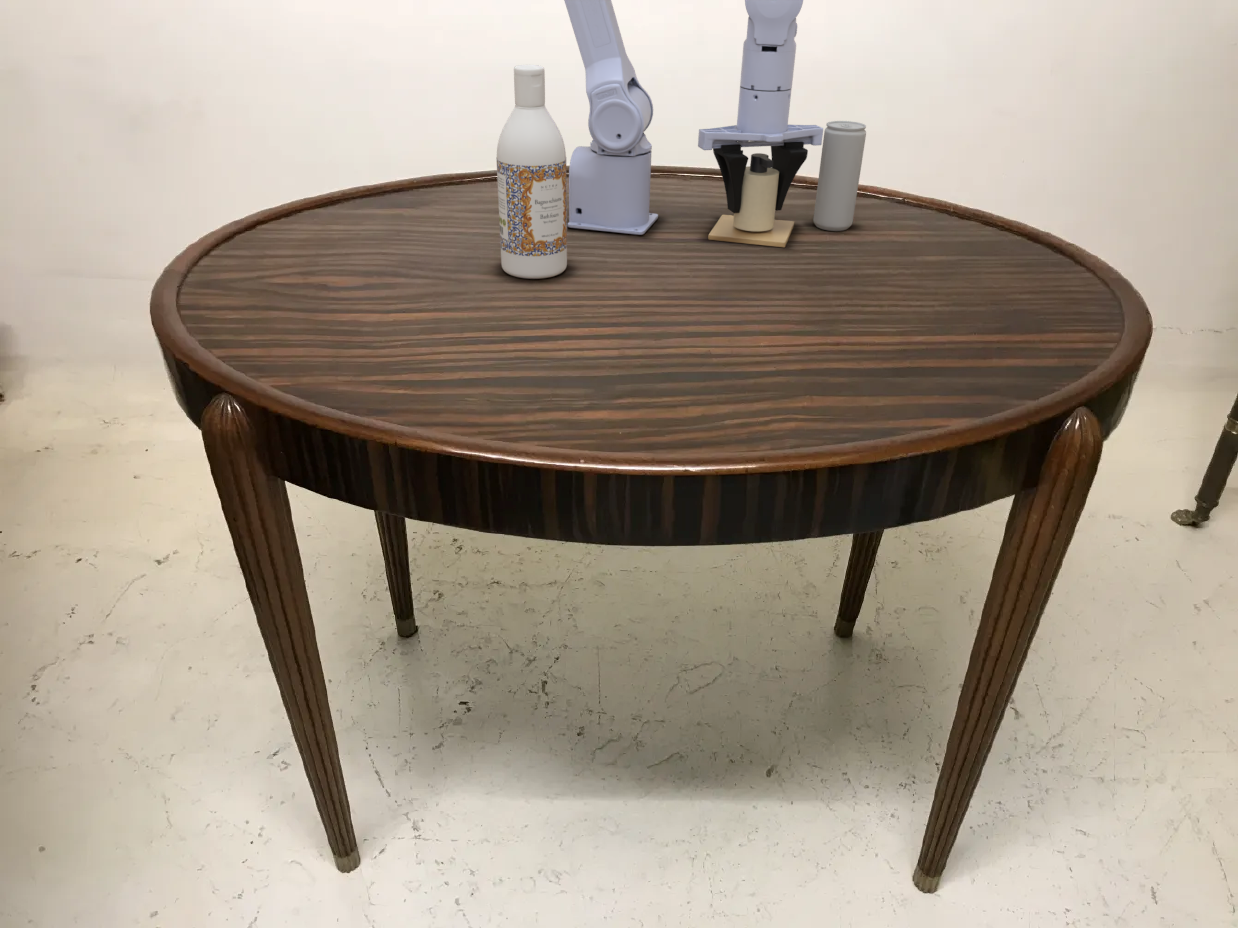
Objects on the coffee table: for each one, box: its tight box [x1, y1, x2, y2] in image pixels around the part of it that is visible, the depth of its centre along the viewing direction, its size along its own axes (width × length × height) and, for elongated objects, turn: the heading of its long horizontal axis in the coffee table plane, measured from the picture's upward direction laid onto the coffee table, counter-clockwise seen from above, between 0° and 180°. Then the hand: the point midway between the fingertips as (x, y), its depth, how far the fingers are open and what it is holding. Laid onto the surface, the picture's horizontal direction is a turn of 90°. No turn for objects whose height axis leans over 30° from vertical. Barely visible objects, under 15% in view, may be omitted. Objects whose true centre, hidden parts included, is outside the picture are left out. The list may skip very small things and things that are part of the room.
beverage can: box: [812, 120, 867, 232], centre depth 112 cm, size 5×5×12 cm
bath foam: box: [495, 64, 568, 280], centre depth 94 cm, size 7×7×20 cm
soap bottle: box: [733, 152, 779, 231], centre depth 109 cm, size 5×5×8 cm
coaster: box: [707, 214, 795, 248], centre depth 112 cm, size 9×9×1 cm
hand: (754, 209), depth 110 cm, fingers closed on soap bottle, 5 cm apart
